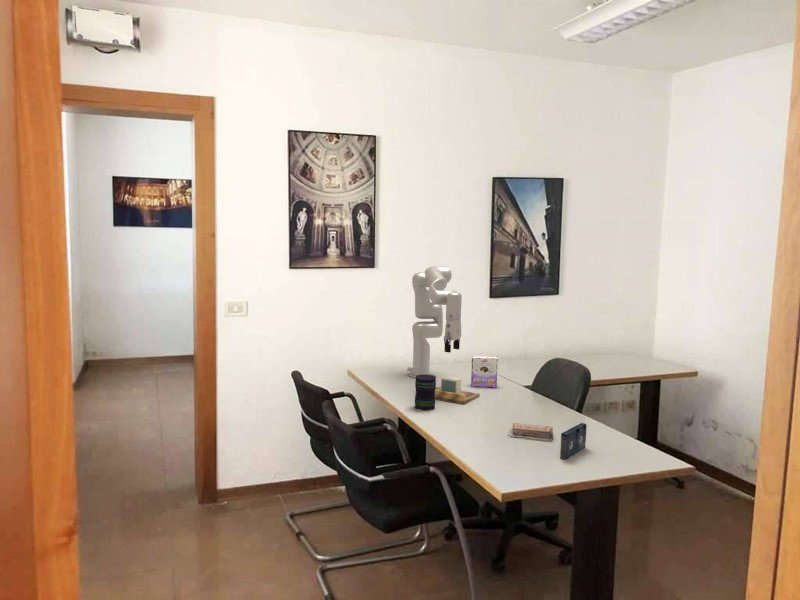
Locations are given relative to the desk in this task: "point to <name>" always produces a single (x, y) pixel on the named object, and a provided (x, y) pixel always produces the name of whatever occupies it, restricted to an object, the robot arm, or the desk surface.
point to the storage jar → (425, 392)
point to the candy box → (484, 371)
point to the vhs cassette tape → (573, 441)
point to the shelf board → (455, 396)
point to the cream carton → (451, 384)
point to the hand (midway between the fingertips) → (451, 350)
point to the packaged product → (531, 432)
